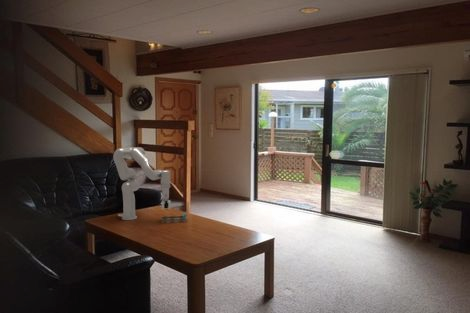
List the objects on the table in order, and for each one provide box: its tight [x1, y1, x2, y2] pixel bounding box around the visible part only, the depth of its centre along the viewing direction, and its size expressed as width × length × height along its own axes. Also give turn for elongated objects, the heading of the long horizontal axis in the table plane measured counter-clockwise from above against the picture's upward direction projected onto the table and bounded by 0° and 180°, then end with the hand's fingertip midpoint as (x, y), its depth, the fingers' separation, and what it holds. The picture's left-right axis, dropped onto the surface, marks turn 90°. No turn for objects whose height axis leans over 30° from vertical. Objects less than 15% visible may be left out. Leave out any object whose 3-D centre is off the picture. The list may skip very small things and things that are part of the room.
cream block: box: [161, 199, 172, 210], centre depth 318 cm, size 7×4×6 cm, turn 100°
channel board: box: [161, 212, 188, 224], centre depth 320 cm, size 20×12×6 cm, turn 100°
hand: (166, 207), depth 318 cm, fingers closed on cream block, 4 cm apart
